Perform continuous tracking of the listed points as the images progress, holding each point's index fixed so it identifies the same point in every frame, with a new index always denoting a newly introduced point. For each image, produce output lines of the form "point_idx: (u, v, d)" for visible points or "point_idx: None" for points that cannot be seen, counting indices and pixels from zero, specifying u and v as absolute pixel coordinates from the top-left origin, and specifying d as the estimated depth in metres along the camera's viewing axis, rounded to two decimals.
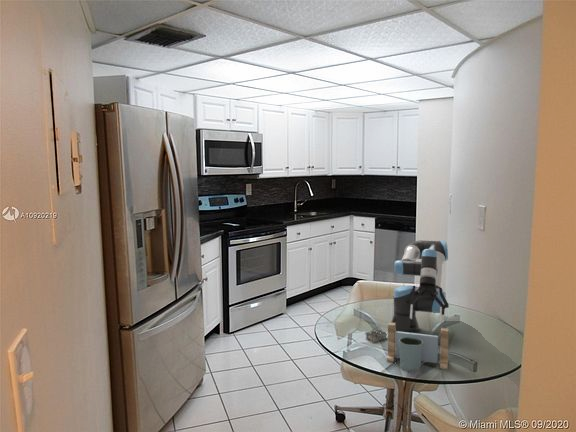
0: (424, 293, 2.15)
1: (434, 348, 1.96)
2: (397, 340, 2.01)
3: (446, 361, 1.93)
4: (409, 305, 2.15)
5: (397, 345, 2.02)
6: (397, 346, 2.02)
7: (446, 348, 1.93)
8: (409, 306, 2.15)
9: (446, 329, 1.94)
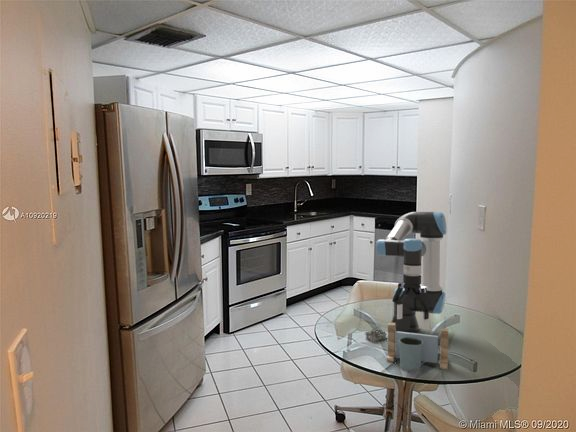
0: (408, 293, 1.91)
1: (434, 348, 1.96)
2: (397, 340, 2.01)
3: (446, 361, 1.93)
4: (396, 305, 1.97)
5: (397, 345, 2.02)
6: (397, 346, 2.02)
7: (446, 348, 1.93)
8: (397, 306, 1.97)
9: (446, 329, 1.94)
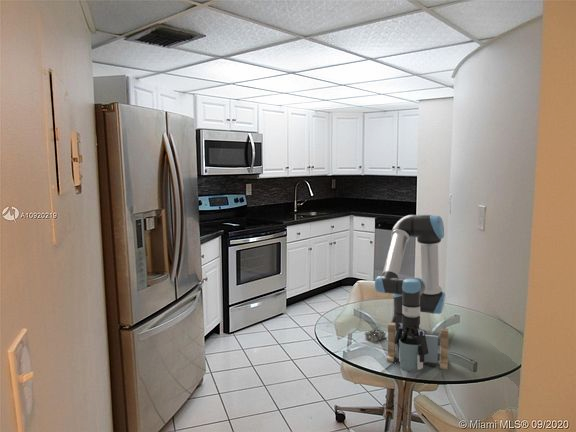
0: (407, 333, 1.92)
1: (434, 348, 1.96)
2: None
3: (446, 361, 1.93)
4: None
5: (397, 345, 2.02)
6: (397, 346, 2.02)
7: (446, 348, 1.93)
8: (399, 348, 1.97)
9: (446, 329, 1.94)
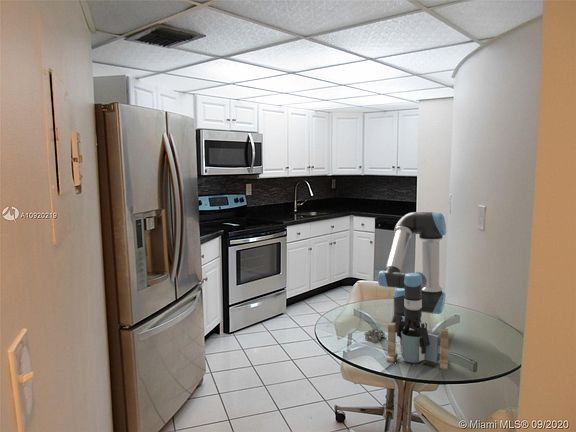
0: (409, 326, 1.98)
1: (434, 347, 1.96)
2: None
3: (446, 361, 1.93)
4: (401, 339, 2.03)
5: None
6: None
7: (446, 348, 1.93)
8: None
9: (446, 329, 1.94)
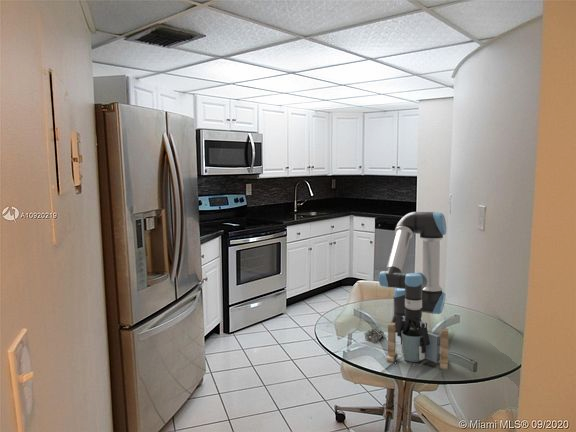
0: (409, 325, 2.00)
1: (434, 347, 1.97)
2: None
3: (446, 361, 1.93)
4: (401, 339, 2.05)
5: None
6: None
7: (446, 348, 1.93)
8: (401, 340, 2.05)
9: (446, 329, 1.94)
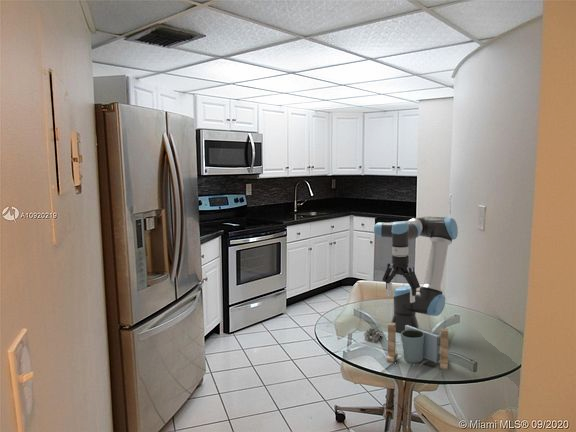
0: (397, 272, 2.08)
1: (434, 347, 1.97)
2: None
3: (446, 361, 1.93)
4: (386, 283, 2.14)
5: None
6: None
7: (446, 348, 1.93)
8: (386, 284, 2.14)
9: (446, 329, 1.94)
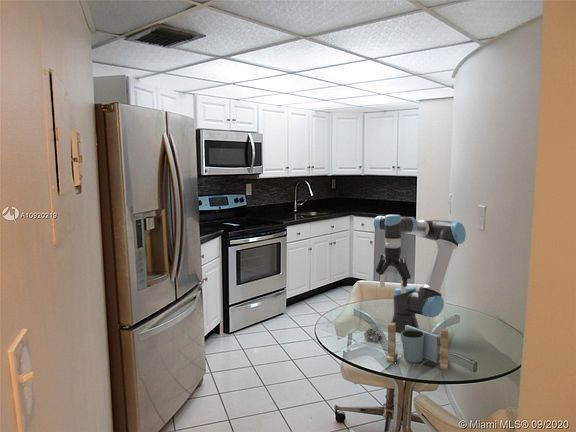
0: (389, 264, 2.12)
1: (434, 347, 1.97)
2: None
3: (446, 361, 1.93)
4: (379, 275, 2.19)
5: None
6: None
7: (446, 348, 1.93)
8: (379, 276, 2.19)
9: (446, 329, 1.94)
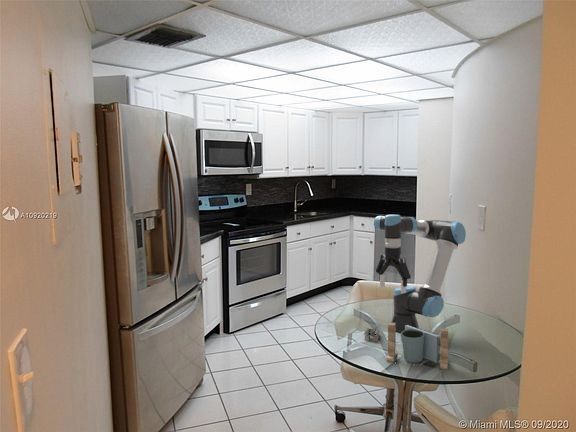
0: (389, 264, 2.12)
1: (434, 347, 1.97)
2: None
3: (446, 361, 1.93)
4: (379, 275, 2.19)
5: None
6: None
7: (446, 348, 1.93)
8: (379, 276, 2.19)
9: (446, 329, 1.94)
